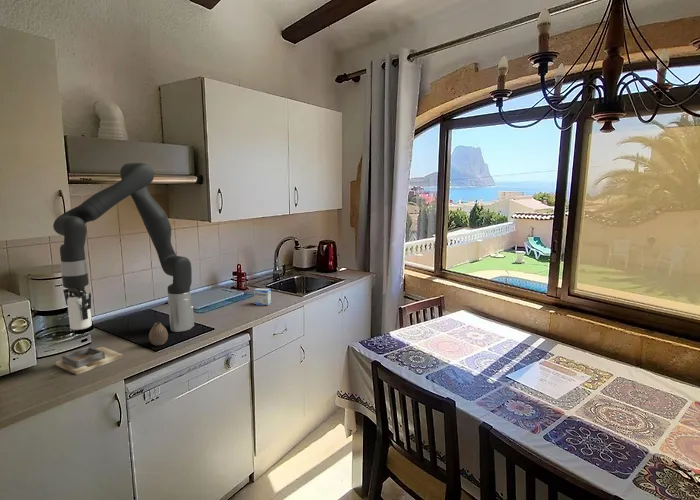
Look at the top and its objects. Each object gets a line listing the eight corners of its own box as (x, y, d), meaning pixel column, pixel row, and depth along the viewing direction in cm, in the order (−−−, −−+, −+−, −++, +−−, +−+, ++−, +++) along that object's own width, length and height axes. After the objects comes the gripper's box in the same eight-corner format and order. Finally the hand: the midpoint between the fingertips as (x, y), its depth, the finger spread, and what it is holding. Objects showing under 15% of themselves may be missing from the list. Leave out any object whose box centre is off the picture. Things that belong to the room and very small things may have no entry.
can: (81, 331, 138) (77, 297, 136) (65, 329, 139) (61, 296, 137) (96, 324, 144) (93, 292, 142) (81, 323, 145) (77, 291, 143)
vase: (172, 341, 164) (170, 321, 162) (159, 348, 157) (157, 327, 156) (159, 339, 166) (157, 319, 165) (145, 345, 160) (144, 325, 158)
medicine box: (254, 305, 213) (253, 289, 212) (257, 302, 218) (257, 287, 216) (268, 306, 212) (267, 290, 211) (271, 303, 216) (270, 288, 215)
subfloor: (102, 349, 156) (101, 340, 155) (122, 357, 149) (122, 348, 148) (56, 365, 142) (54, 355, 141) (76, 374, 135) (75, 364, 135)
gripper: (97, 273, 138) (101, 319, 141) (75, 268, 145) (80, 312, 148) (73, 277, 131) (79, 326, 134) (52, 272, 138) (57, 318, 141)
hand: (79, 318), depth 141 cm, fingers closed on can, 5 cm apart
